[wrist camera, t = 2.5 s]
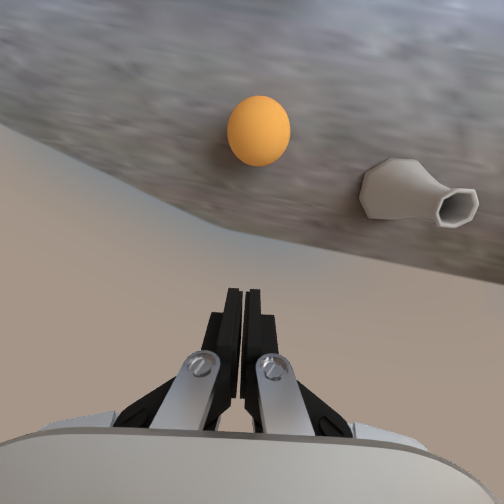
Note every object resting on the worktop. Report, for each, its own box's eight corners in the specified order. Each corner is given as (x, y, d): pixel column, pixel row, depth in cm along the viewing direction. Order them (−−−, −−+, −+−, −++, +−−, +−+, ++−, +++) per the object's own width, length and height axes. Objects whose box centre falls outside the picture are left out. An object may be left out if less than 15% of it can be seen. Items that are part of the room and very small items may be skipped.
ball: (289, 104, 24) (298, 89, 18) (283, 166, 26) (290, 169, 21) (231, 101, 24) (222, 86, 18) (230, 163, 26) (223, 166, 21)
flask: (360, 226, 29) (407, 260, 20) (355, 166, 26) (407, 173, 17) (421, 212, 28) (501, 241, 19) (423, 148, 25) (517, 146, 16)
